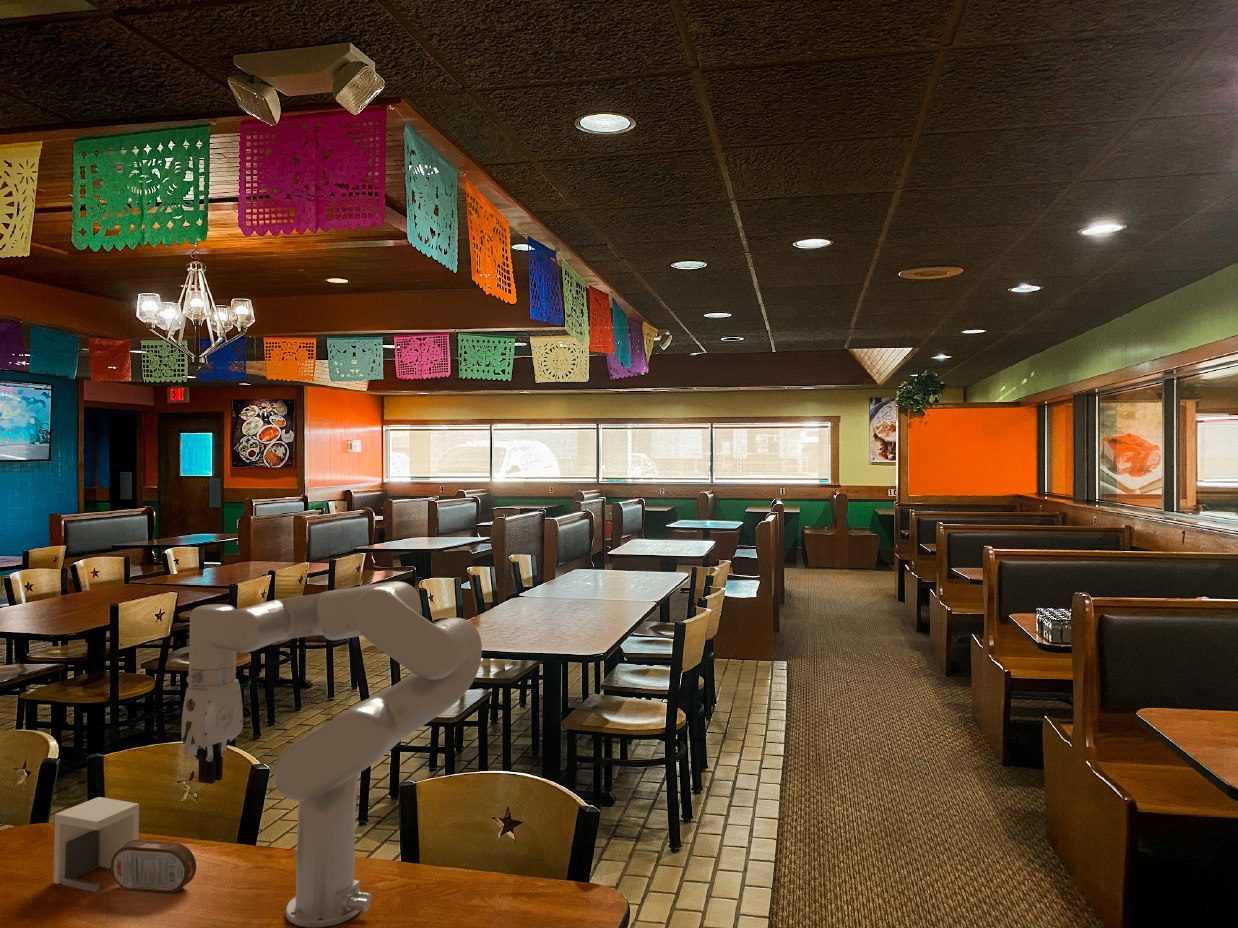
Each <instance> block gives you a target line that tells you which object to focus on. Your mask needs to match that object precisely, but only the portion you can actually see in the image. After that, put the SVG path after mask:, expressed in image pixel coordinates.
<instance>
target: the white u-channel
mask: <svg viewBox="0 0 1238 928" xmlns="http://www.w3.org/2000/svg"><path fill="white" fill-rule="evenodd" d="M139 820H140V803H136V802H130V801H126V800H125V801H124V800H121V799H120V800H119V799H114V798H109V797H108V798H107V797H101V796H98V797H95V798H93V799H90V800H88V801H84V802H82V803H80V804H77V805H74V806H72V807H70V808H67V809H64V810H61V811H59V812H57V813H55V814H54V843H53V845H54V846H53V847H54V848H53V851H54V852H53V884H57V885H60V884H61V885H62V886H65V887H71V888H74V889H79V890H84V891H88V892H92V893H97V892H99V891H100V883H99V882H94V881H89V880H84V879H82V878H81V879H80V878H79V877H81V876H83V875H85V874H88V873H89V872H91V871H93V870H96V869H97V868H98V867H100V866H102V867H101V868H104V867H106V868H105V869H109V868H111V861H112V858H113V856H114V854H115V853H116V852H117V851H118V850H119V849H120V848H122V847H123V846H124V845H125V844H126V843H128V842H129V841H132V840H139V834H140V833H139V829H140V828H139V826H140V825H139V824H140V821H139ZM95 868H96V869H95Z"/></svg>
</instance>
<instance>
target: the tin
mask: <svg viewBox="0 0 1238 928" xmlns="http://www.w3.org/2000/svg"><path fill="white" fill-rule="evenodd" d="M196 862H197V861H196V858H195V856H194V854H193V852H192V850H190V849H189V848H188V847H187V846H186V845H184V844H183V843H179V842H172V841H161V840H160V841H158V840H146V839H138V840H132V841H129V842H128V843H126V844H125V845H124V846H123V847H122V848H120V849H119V850H118V851H117V852H116V853H115V854H114V856H113V858H112V861H111V869H110V870H111V875H112V878H113V880H114V881H115V883H116V884H117V885H119V887H121V888H123V889H125V890H126V891H127V890H128V891H135V892H136V891H137V892H148V893H160V894H162V893H163V894H171V893H172V894H173V893H177V892H178V891H180V890H182V889H183V888H184V887H185V886H187V885H189V883H191V882H192V880H193V879H194V878H195V875H196V872H197V863H196Z"/></svg>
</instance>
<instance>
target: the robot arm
mask: <svg viewBox="0 0 1238 928" xmlns="http://www.w3.org/2000/svg"><path fill="white" fill-rule="evenodd" d="M421 604H422V602H421V597H420V595H419V593H418V591H417V590H416V588H415V587H413V586H412V585H411V584H409V583H407V582H405V581H404V582H403V581H396V580H395V581H385V582H380V583H373V584H367V585H360V586H354V587H348V588H341V589H334V590H327V591H323V592H320V593H314V594H313V593H312V594H308V595H307V594H306V595H299V596H294V597H286V598H280V599H274V600H268V601H265V602H260V603H257V604H253V605H251V606H245V607H241V608H238V609H237V608H235V607H234V606H233V605H230V604H221V603H220V604H219V603H213V604H205V605H204V604H203V605H199V606H197V607H194V608H193V609H192V611H191V612H190V614H189V615H190V616H189V642H188V643H189V647H188V648H189V650H188V651H189V653H188V676H186V679H185V680H186V682H187V683H188V687H186V689H185V690H186V691H185V695H184V701H183V707H182V715H181V731H180V733H181V742H182V744H184V747H183V750H182V752H183V753H182V754H183V755H187V756H194V757H195V758H194V759H195V760H197V761H198V776H197V777H198V779H197V781H198V782H199V783H204V784H210V785H213V784H214V783H216V781H218V782H219V781H221V780H223V765H224V763H223V761H224V757H225V756H226V753H227V748H228V746H229V744H230V743H231V742H232V741H233V740H235V739H236V738H238V737H237V736H238V735H240V734H241V733H242V731H243V727H244V724H243V723H244V722H243V721H244V719H243V718H244V714H243V713H244V712H243V699H242V698H243V696H242V692H241V686H240V682H239V681H240V680H239V679H237V677H236V676H237V675H236V673H237V652H238V653H250V652H254V651H256V650H259V649H262V648H264V647H266V646H269V645H273V644H275V643H277V642H278V643H279V642H282V641H286V640H291V639H297V638H299V639H300V638H304V637H312V636H323V637H324V638H325V639H327V640H329V641H338V640H339V641H340V640H344V639H345V640H346V639H350V638H351V639H352V638H357V637H363V638H365V639H366V640H367V641H368V642H370V643H371V644H372V645H373V646H375V647H376V648H377V649H379V650H380V651H381V652H382V653H384V654H386V655H387V656H389V657H390V658H392V660H394V661H396V662H397V663H398V664H400V665H401V666H403V667H404V668H406V669H407V670H408V671H409V672H411V673H410V674H409V675H407V676H406V677H404V678H403V679H402V680H400V681H398V682H397V683H395V684H393V685H392V686H390V687H388V688H386V689H385V690H383V691H381V692H379V693H378V694H376V695H374V696H371V697H369V698H366V699H364V700H362V701H360V702H358V703H357V704H355V705H354V706H352V707H351V708H349V709H347V710H346V711H344V712H342V713H341V714H340V715H338V716H337V717H335V718H333V719H332V720H330V721H328V722H327V723H325V724H322V725H320V726H318V727H316V728H314V729H313V730H311V731H309V732H308V733H306V734H305V735H303V736H301V737H300V738H299V739H298V740H296V741H294V742H293V743H291V744H289V745H288V746H286V748H285V749H284V750H283V751H282V752H281V753H280V755H279V756H278V758H277V760H276V762H275V766H274V770H273V780H274V784H275V786H276V789H277V790H278V791H279V792H280V794H282V795H283V797H285V798H287V799H289V800H293V801H296V802H298V804H297V805H298V806H297V823H296V824H297V825H296V826H297V828H296V829H297V830H296V831H297V832H296V868H295V869H296V871H295V872H296V874H295V875H296V877H295V880H296V881H295V883H296V884H295V896H294V897H293V898H292V899H291V900H290V901H289V902H288V903H287V905H286V908H285V916H286V920H288V922H290V923H291V924H293V925H295V926H298V927H303V928H325V927H331V926H336V925H339V924H342V923H345V922H346V921H348V920H351V919H352V918H354V917H355V916H356V915H357V914H359V913H360V912H363V913H366V912H367V911H368V910H369V908H370V906H371V900H372V897H373V895H372V893H371V892H366V891H361V890H360V886H361V885H360V880H357V879H355V861H356V860H355V858H356V857H355V855H356V853H355V852H356V847H355V846H356V844H355V843H356V817H357V816H356V815H357V814H356V812H357V793H358V792H357V790H358V783H359V781H358V779H359V774H360V773H362V772H363V771H365V770H366V769H368V768H369V767H371V766H372V765H373V764H375V763H377V762H379V760H380V759H381V758H383V757H384V756H385V755H386V754H387V753H389V752H390V751H391V750H392V749H393V748H394V747H395V746H396V745H397V744H398V743H400V742H401V741H402V740H403V739H405V738H406V737H407V736H409V735H410V734H412V733H413V732H415V731H417V730H418V729H420V728H421V727H423V726H425V725H426V724H428V723H429V722H431V720H434V719H435V718H436V717H438V716H440V715H441V714H442V713H444V712H446V711H447V710H448V709H450V708H451V707H453V706H454V705H455V704H456V703H457V702H458V701H460V699H461V698H462V697H463V696H464V695H465V693H467V691H468V690H469V689H470V687H471V686H472V684H473V683H474V680H475V679H476V677H477V675H478V672H479V669H480V666H481V661H482V655H483V653H482V652H483V648H482V647H483V645H482V638H481V636H480V635H481V634H480V632H479V631H478V629H477V627H476V626H475V624H473V623H472V622H471V621H469V620H468V619H466V618H462V617H449V618H445V619H442V620H440V621H438V622H435V623H433V622H431V621H430V620H429V619H427V618H426V617H424V616H423V615H421V614H420V612H421V608H422V605H421Z"/></svg>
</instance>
